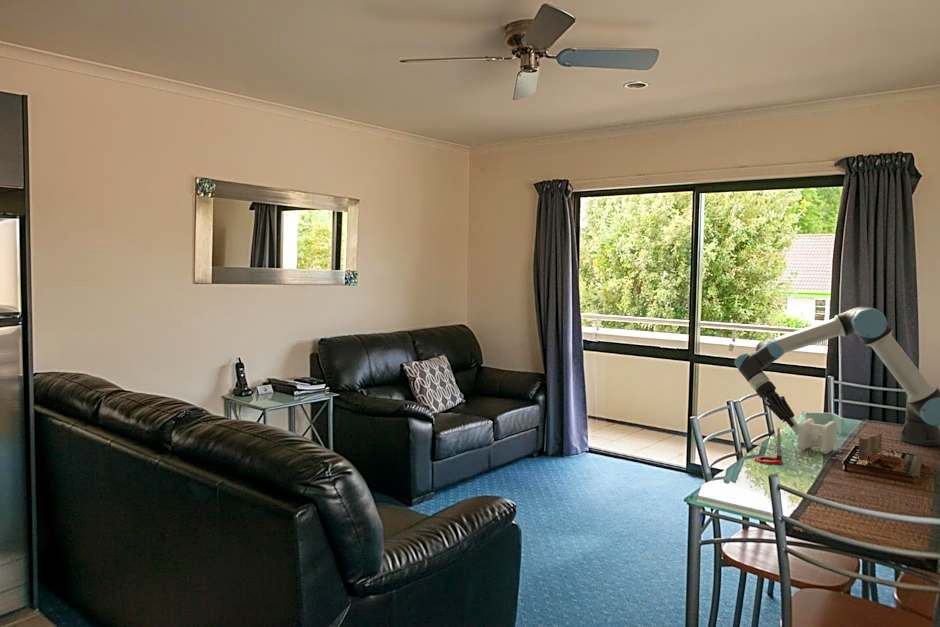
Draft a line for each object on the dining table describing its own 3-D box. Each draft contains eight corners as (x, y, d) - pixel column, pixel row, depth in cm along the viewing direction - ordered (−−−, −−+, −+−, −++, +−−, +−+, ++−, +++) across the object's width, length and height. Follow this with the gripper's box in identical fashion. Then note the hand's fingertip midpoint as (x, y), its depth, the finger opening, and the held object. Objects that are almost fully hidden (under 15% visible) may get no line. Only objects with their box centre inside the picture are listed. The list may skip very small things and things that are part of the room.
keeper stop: (845, 452, 270) (846, 427, 269) (880, 460, 260) (881, 433, 259) (827, 458, 262) (828, 432, 261) (863, 466, 251) (865, 439, 250)
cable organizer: (825, 456, 263) (826, 427, 262) (796, 451, 270) (797, 422, 269) (835, 449, 274) (836, 420, 273) (807, 444, 281) (808, 416, 280)
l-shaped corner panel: (804, 428, 312) (805, 412, 312) (832, 429, 311) (833, 413, 310) (814, 434, 300) (814, 417, 300) (843, 435, 299) (844, 418, 298)
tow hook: (756, 464, 254) (783, 465, 251) (755, 430, 253) (782, 430, 251) (753, 458, 262) (779, 459, 259) (752, 425, 261) (779, 425, 259)
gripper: (765, 389, 295) (801, 435, 283) (748, 392, 287) (784, 440, 275) (777, 378, 290) (814, 425, 278) (760, 381, 282) (798, 429, 270)
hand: (799, 432), depth 276 cm, fingers closed
